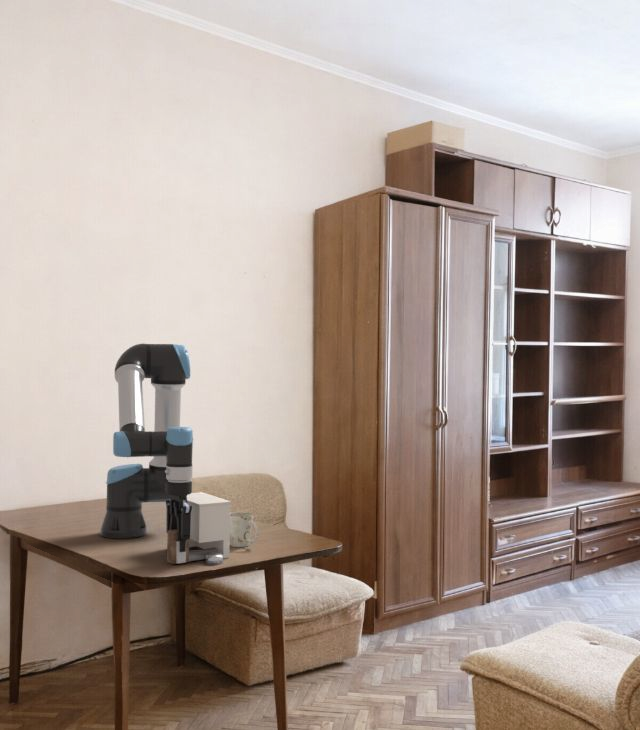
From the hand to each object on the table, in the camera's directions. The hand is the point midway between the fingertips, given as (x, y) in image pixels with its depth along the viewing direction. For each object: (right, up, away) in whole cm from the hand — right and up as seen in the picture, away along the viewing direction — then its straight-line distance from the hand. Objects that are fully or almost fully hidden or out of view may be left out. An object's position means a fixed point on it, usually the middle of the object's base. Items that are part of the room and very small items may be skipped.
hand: (177, 560), depth 228 cm
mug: (+17, -1, +23) cm, 28 cm away
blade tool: (+4, 0, +3) cm, 5 cm away
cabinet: (+4, -1, +13) cm, 14 cm away
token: (+10, -1, +1) cm, 11 cm away
